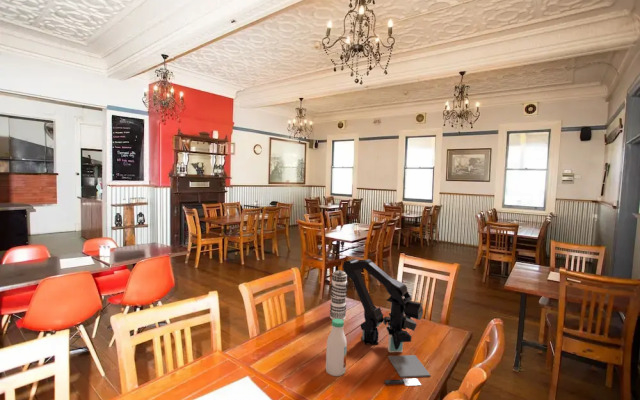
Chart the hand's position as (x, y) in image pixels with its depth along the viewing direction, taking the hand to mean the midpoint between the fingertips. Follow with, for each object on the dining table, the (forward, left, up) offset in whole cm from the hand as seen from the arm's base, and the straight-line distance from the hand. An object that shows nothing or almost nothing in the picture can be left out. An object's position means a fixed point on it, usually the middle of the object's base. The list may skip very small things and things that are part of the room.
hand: (395, 347), depth 143 cm
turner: (-5, -22, -2) cm, 23 cm away
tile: (0, 0, -2) cm, 2 cm away
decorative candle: (-19, +35, -2) cm, 40 cm away
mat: (+1, -12, -2) cm, 12 cm away
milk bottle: (-29, -13, -2) cm, 32 cm away
